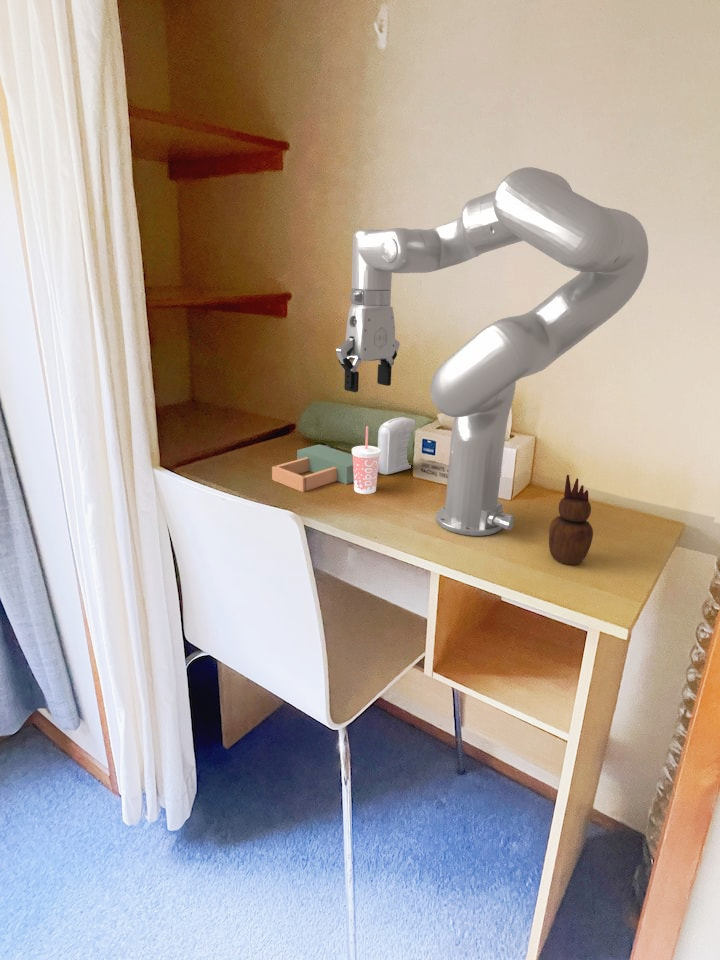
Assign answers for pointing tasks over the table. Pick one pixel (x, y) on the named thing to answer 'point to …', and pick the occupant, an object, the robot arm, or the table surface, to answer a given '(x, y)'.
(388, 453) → the photo printer
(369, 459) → the beverage cup
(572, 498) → the wooden figurine
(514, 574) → the table surface
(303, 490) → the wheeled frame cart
